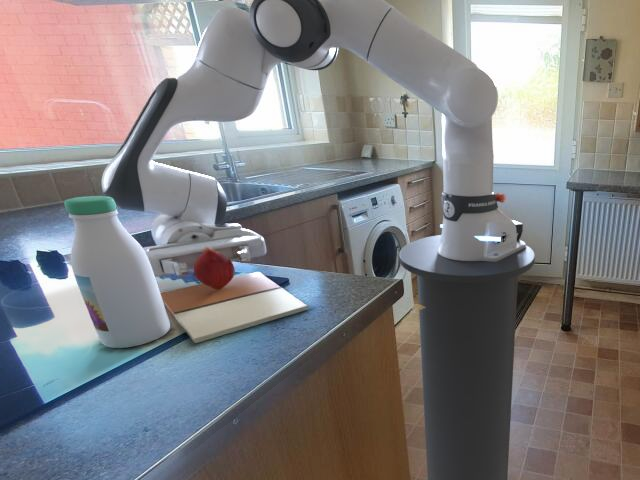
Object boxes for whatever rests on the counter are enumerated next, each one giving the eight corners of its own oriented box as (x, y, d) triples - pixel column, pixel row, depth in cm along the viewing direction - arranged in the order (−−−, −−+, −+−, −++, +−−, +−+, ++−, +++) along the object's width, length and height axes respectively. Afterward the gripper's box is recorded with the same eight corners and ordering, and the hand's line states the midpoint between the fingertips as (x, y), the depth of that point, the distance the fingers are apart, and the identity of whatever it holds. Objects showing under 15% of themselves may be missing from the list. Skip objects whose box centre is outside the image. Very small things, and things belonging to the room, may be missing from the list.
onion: (243, 282, 77) (233, 241, 74) (232, 294, 72) (221, 251, 69) (207, 284, 76) (196, 242, 72) (193, 296, 70) (181, 252, 67)
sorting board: (259, 275, 83) (258, 270, 82) (308, 309, 69) (307, 305, 69) (159, 297, 71) (157, 292, 71) (194, 343, 58) (193, 338, 58)
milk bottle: (178, 320, 64) (139, 192, 56) (160, 344, 58) (112, 203, 50) (116, 327, 61) (65, 193, 54) (90, 353, 55) (28, 205, 47)
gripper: (116, 240, 71) (131, 259, 63) (247, 222, 85) (273, 236, 77) (128, 274, 73) (144, 297, 65) (253, 251, 88) (279, 267, 79)
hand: (215, 263), depth 71 cm, fingers open, 8 cm apart
